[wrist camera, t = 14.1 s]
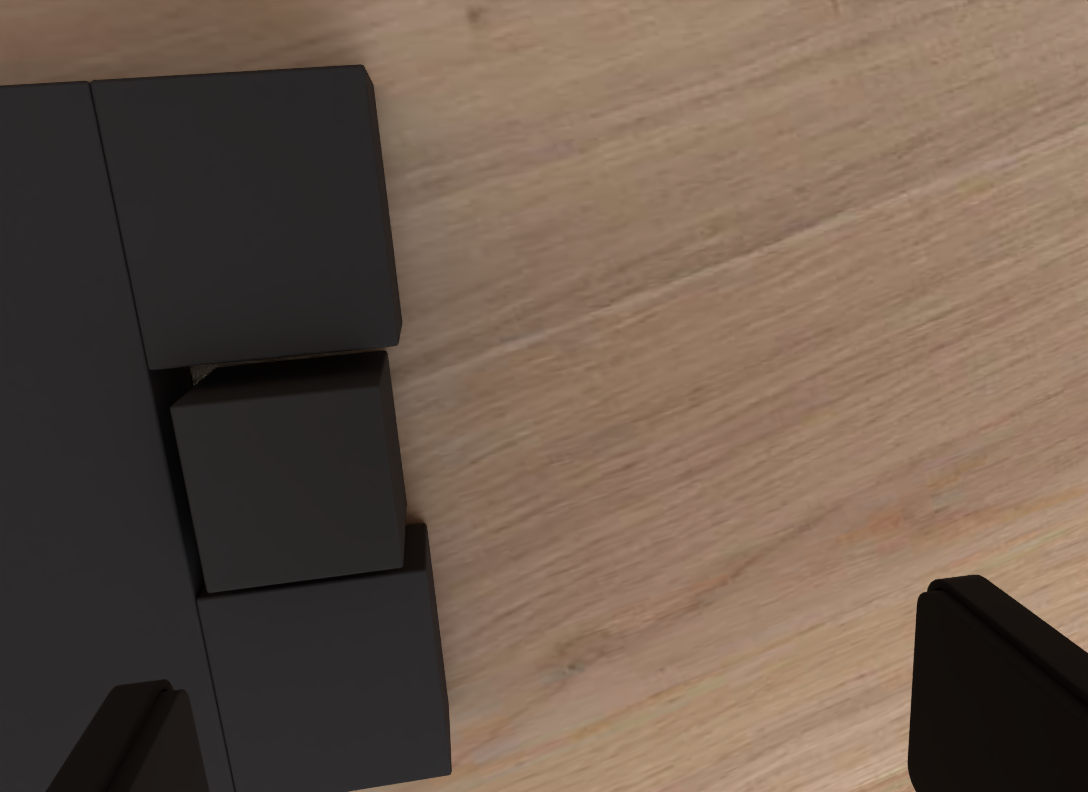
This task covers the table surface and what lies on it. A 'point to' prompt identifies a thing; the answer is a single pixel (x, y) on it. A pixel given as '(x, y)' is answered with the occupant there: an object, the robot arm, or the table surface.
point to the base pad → (148, 433)
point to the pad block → (293, 470)
